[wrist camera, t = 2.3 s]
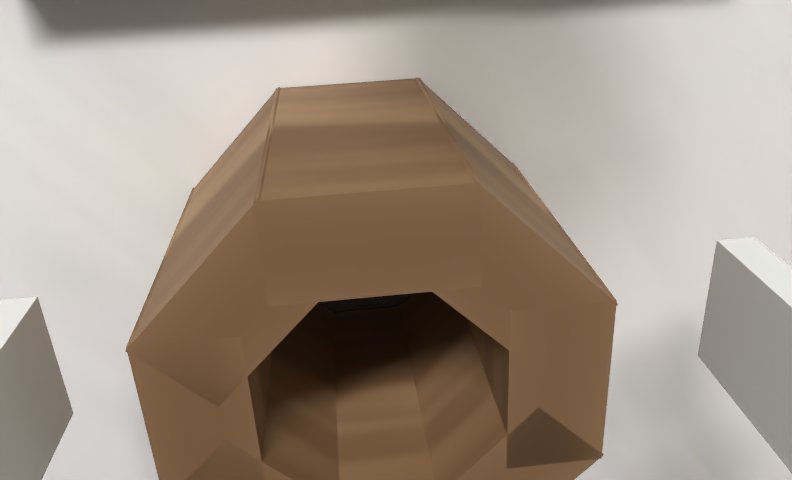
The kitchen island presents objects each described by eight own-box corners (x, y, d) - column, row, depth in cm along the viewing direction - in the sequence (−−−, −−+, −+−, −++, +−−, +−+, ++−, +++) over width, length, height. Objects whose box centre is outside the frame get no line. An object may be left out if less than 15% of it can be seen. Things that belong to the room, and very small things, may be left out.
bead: (509, 351, 21) (594, 547, 15) (226, 379, 20) (186, 596, 14) (516, 70, 17) (631, 168, 11) (174, 94, 17) (90, 212, 10)
